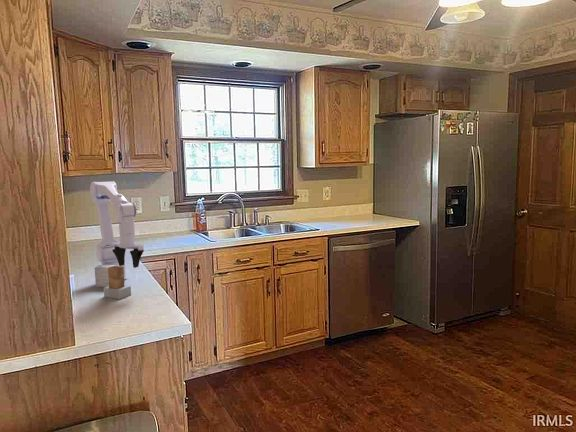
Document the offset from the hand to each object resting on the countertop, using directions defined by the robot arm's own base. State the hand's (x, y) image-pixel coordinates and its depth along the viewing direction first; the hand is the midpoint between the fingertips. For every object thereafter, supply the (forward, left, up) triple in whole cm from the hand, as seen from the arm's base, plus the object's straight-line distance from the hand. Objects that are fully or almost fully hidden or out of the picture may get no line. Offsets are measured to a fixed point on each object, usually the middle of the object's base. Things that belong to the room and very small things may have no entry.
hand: (128, 266), depth 176 cm
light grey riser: (+7, 0, -10) cm, 12 cm away
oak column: (+7, 0, -7) cm, 10 cm away
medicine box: (-2, -15, -11) cm, 18 cm away
